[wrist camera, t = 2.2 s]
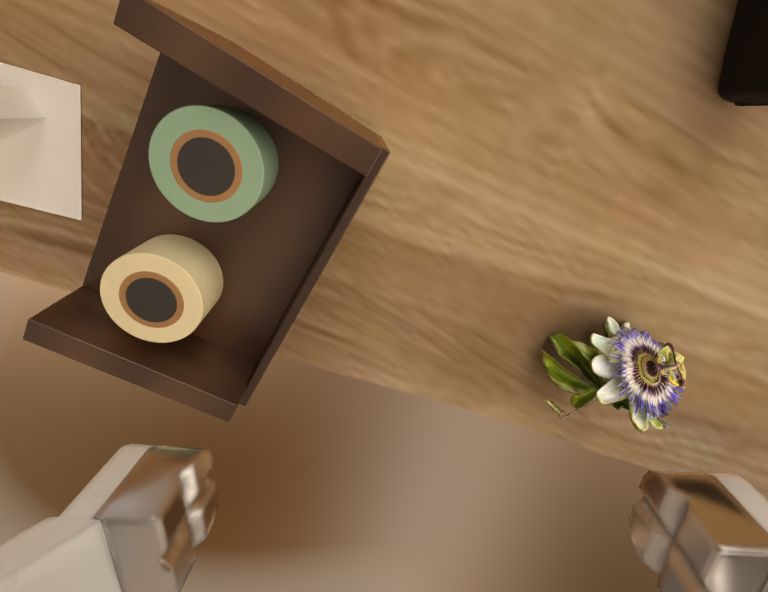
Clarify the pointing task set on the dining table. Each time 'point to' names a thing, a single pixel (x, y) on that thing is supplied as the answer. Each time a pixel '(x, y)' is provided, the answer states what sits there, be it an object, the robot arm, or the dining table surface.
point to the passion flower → (619, 373)
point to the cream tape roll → (162, 288)
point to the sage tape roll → (212, 161)
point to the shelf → (223, 239)
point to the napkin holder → (40, 142)
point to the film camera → (747, 56)
